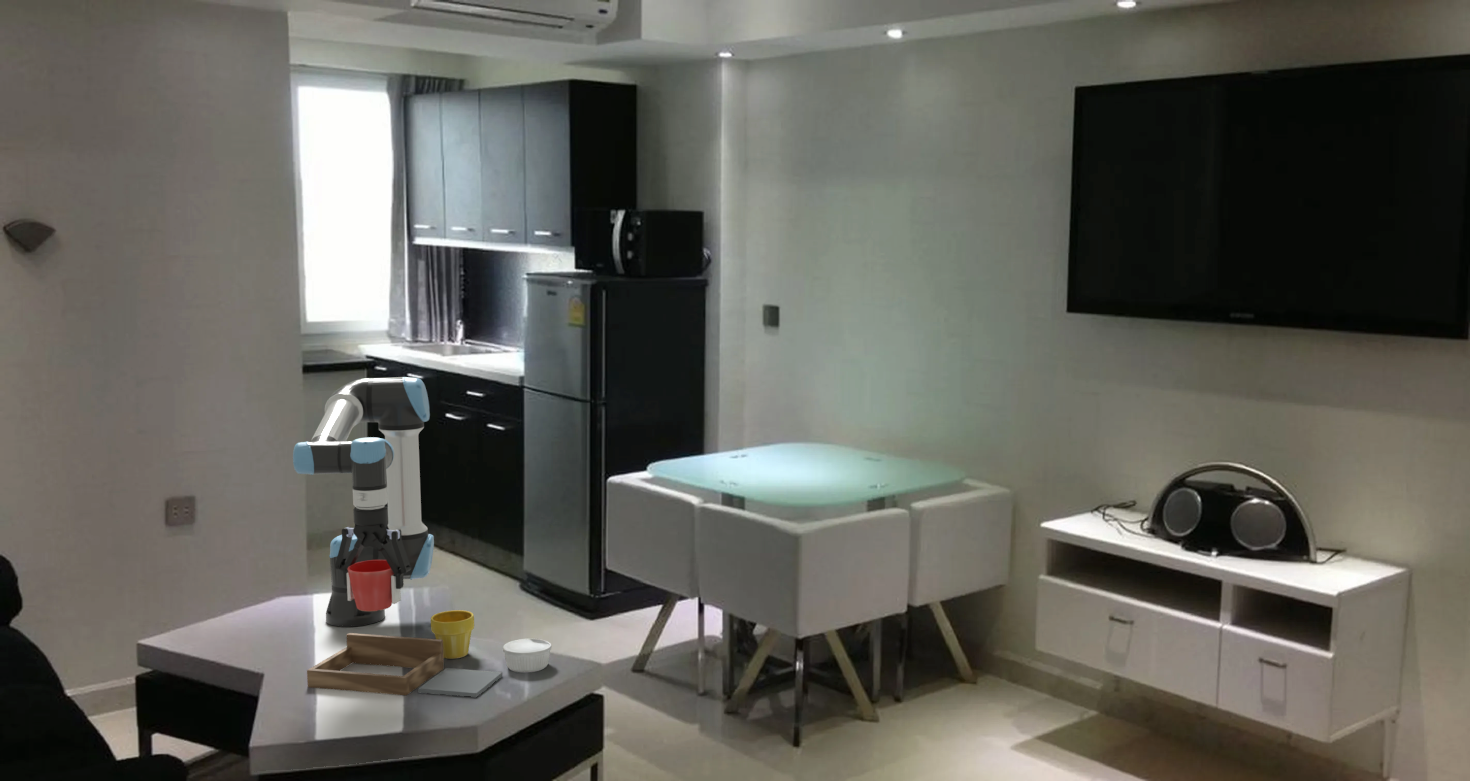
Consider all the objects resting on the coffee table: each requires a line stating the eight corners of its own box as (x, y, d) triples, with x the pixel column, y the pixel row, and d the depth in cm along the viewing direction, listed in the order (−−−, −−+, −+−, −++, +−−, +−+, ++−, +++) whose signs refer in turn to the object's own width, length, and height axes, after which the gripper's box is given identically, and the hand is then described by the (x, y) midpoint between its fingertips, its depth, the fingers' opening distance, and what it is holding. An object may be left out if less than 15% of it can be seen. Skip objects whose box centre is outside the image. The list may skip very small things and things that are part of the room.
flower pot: (385, 614, 284) (383, 572, 282) (340, 612, 286) (338, 570, 285) (406, 601, 294) (405, 560, 293) (363, 598, 296) (361, 558, 295)
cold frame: (350, 661, 303) (349, 632, 303) (443, 668, 298) (442, 639, 297) (307, 687, 286) (306, 657, 285) (406, 695, 280) (405, 664, 279)
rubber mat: (446, 671, 295) (446, 667, 295) (502, 676, 292) (502, 672, 292) (418, 692, 282) (418, 688, 282) (476, 697, 278) (476, 692, 278)
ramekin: (561, 663, 301) (560, 642, 301) (531, 677, 292) (531, 655, 291) (524, 656, 307) (523, 635, 306) (494, 669, 297) (493, 647, 296)
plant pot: (422, 658, 305) (421, 618, 304) (449, 645, 315) (448, 607, 313) (457, 663, 301) (456, 624, 300) (483, 651, 310) (482, 612, 309)
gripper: (315, 507, 286) (320, 601, 289) (408, 511, 281) (412, 608, 284) (333, 500, 293) (337, 592, 296) (424, 504, 288) (427, 598, 291)
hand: (374, 600), depth 290 cm, fingers closed on flower pot, 10 cm apart
